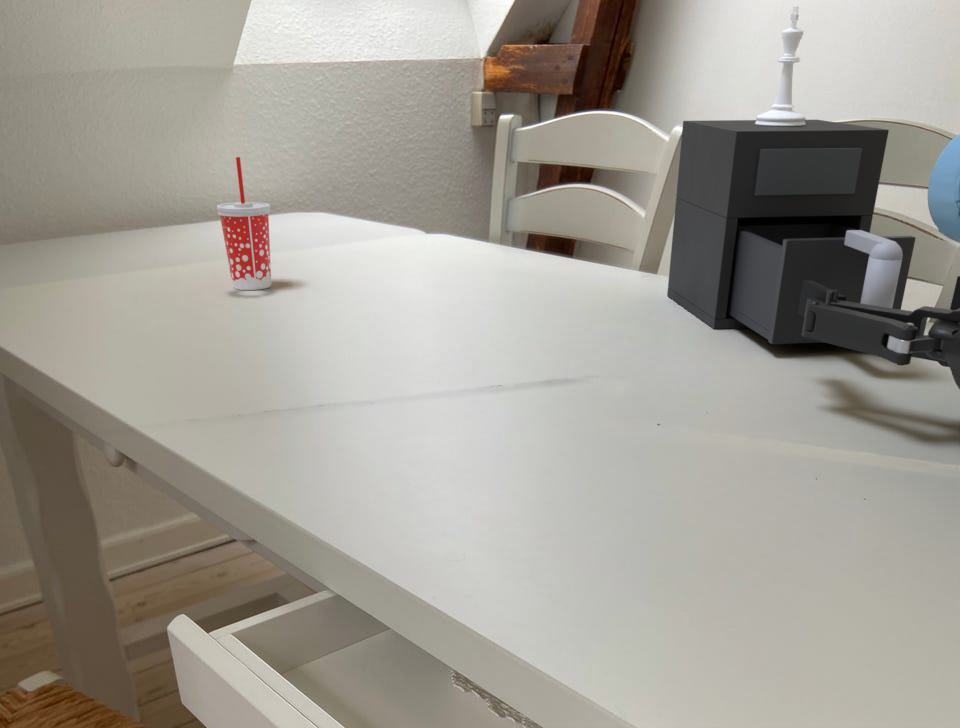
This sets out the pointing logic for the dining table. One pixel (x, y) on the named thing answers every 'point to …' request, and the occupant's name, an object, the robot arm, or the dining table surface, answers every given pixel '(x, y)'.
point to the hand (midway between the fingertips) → (881, 294)
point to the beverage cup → (247, 240)
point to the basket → (811, 272)
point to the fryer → (762, 195)
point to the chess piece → (785, 82)
